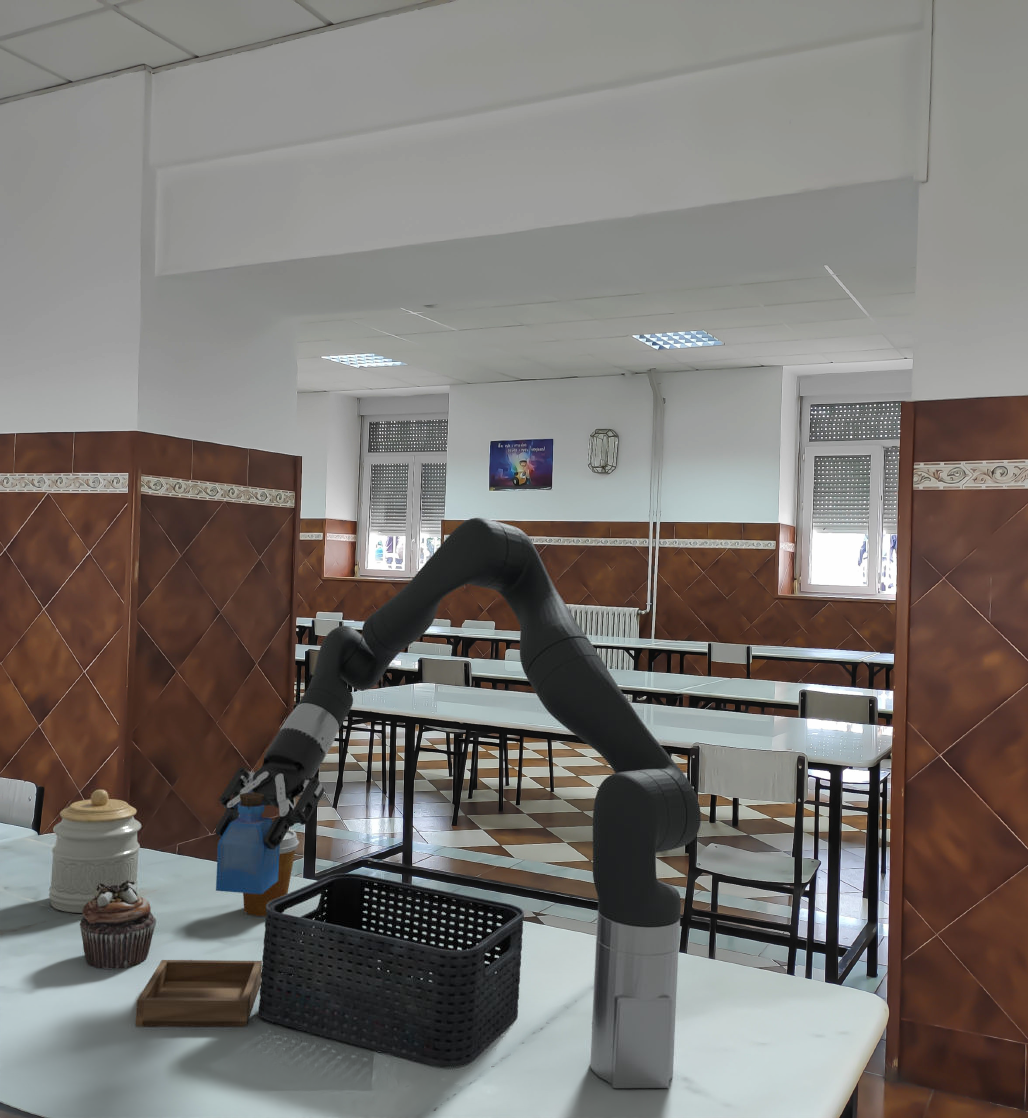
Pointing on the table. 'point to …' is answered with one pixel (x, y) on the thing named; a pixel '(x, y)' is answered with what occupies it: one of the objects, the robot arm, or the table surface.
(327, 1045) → the table surface
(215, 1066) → the table surface
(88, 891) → the jar
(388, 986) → the storage bin
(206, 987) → the tray
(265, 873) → the perfume bottle
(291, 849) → the disposable coffee cup
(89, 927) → the cupcake
